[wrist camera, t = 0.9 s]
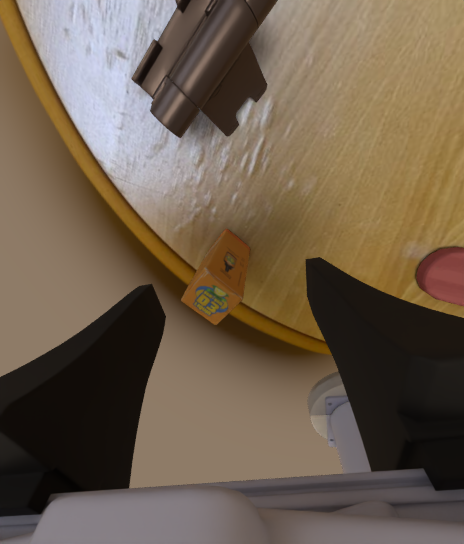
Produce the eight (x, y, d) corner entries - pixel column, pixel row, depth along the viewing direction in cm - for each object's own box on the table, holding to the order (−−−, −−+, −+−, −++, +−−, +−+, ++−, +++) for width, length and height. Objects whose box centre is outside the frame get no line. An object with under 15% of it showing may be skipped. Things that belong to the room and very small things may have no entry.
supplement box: (205, 252, 25) (175, 299, 16) (226, 227, 24) (206, 263, 15) (230, 272, 26) (214, 329, 17) (252, 248, 25) (248, 296, 16)
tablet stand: (210, -30, 17) (171, -189, 10) (288, 61, 19) (309, -13, 11) (142, 86, 20) (71, 36, 13) (214, 156, 22) (189, 150, 14)
